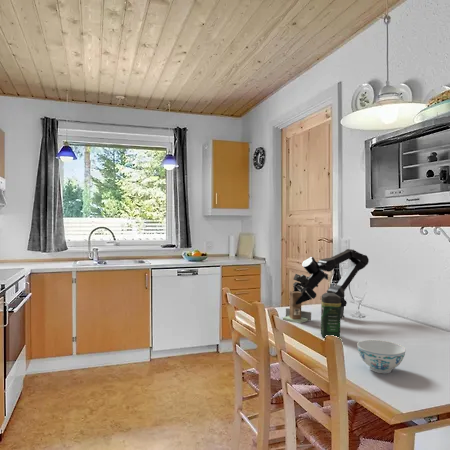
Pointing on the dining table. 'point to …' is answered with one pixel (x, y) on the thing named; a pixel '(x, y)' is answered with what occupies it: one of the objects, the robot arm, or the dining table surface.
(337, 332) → the coffee jar
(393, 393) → the dining table surface
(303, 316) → the grey rail
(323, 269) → the robot arm
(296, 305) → the walnut block
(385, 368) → the chinaware
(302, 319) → the green pad
